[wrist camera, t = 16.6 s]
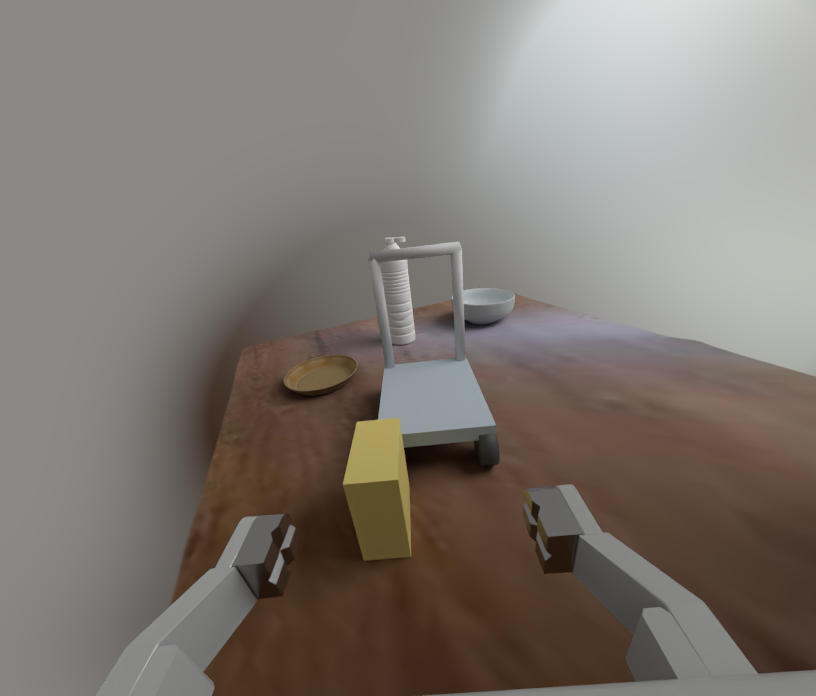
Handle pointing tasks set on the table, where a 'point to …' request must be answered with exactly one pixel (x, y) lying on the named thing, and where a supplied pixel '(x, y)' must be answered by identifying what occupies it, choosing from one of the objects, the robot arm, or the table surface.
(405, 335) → the water bottle
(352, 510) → the yellow rectangular block
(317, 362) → the plant saucer
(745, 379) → the table surface
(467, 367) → the trolley
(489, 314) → the cereal bowl
